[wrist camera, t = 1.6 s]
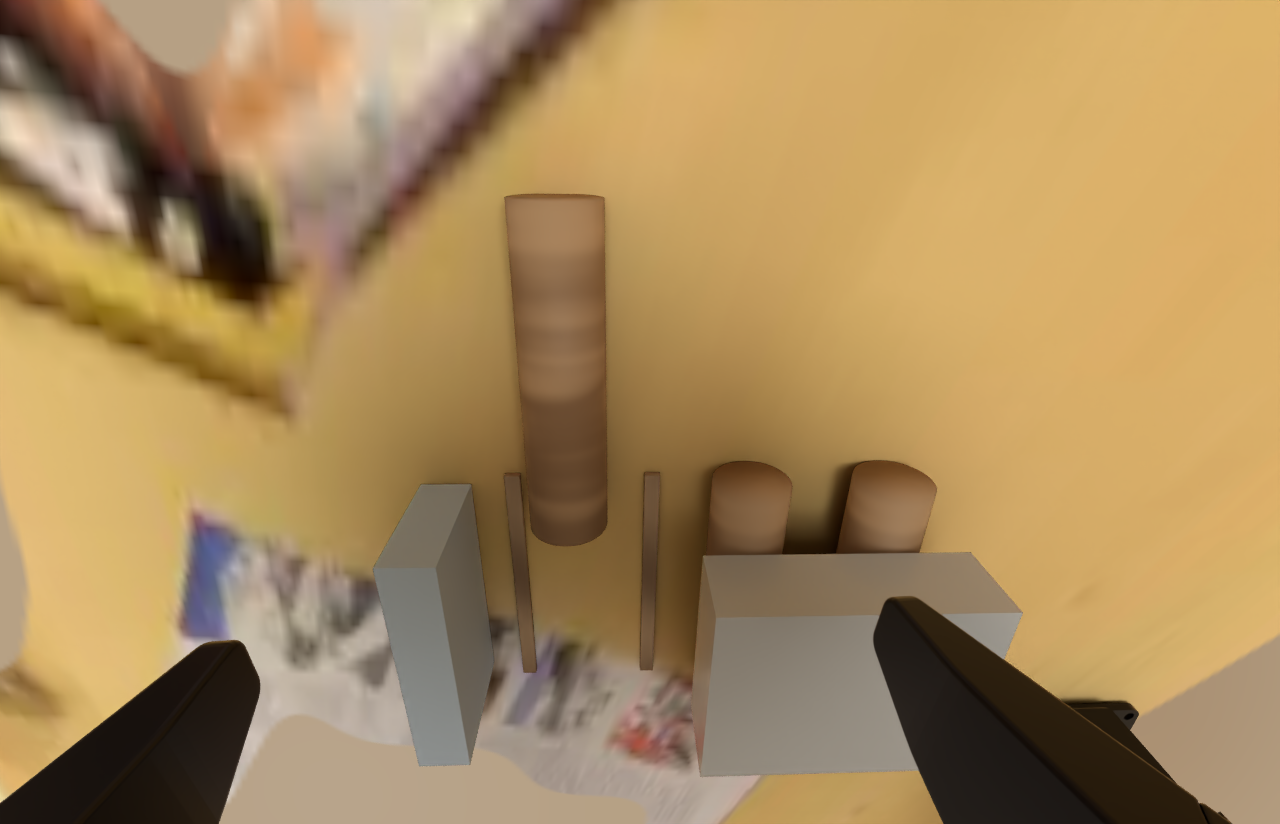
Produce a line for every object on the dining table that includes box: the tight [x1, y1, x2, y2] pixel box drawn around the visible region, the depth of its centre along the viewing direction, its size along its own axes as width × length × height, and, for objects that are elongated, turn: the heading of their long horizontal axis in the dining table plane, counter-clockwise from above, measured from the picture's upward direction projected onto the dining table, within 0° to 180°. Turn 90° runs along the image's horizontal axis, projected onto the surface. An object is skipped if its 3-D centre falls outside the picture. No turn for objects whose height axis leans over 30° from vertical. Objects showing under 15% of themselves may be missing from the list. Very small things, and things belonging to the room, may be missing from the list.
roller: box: [504, 194, 607, 546], centre depth 20 cm, size 12×3×3 cm, turn 179°
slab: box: [691, 552, 1023, 777], centre depth 21 cm, size 8×10×3 cm
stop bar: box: [373, 484, 494, 766], centre depth 23 cm, size 10×2×5 cm, turn 179°
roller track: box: [504, 461, 937, 673], centre depth 24 cm, size 12×17×3 cm
